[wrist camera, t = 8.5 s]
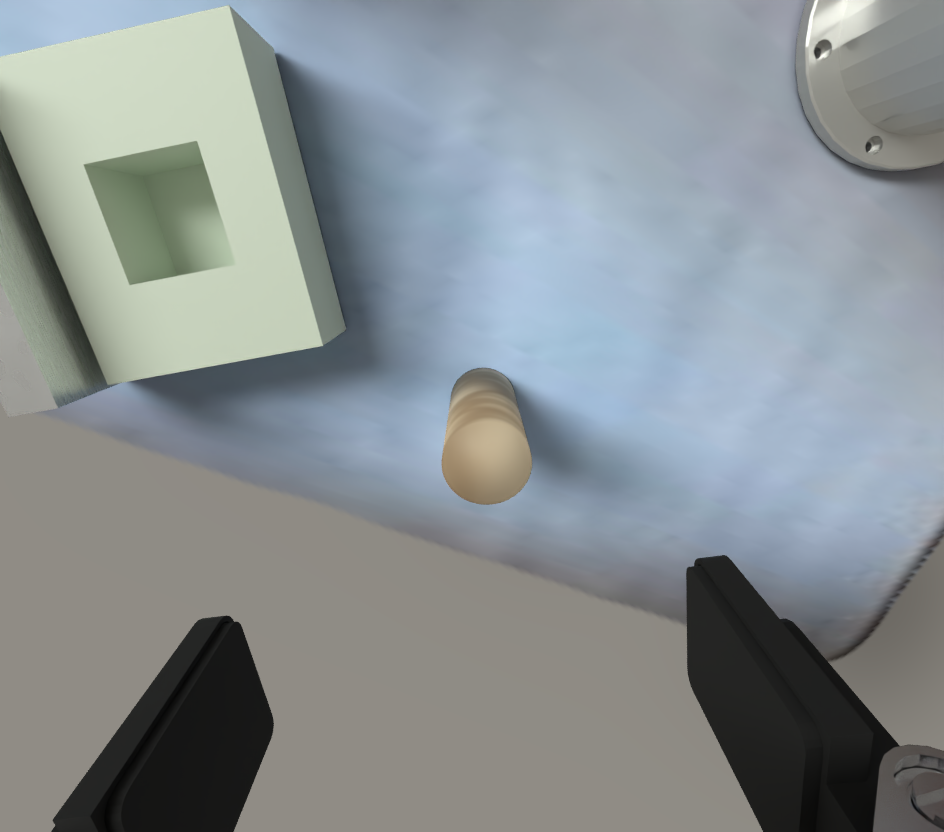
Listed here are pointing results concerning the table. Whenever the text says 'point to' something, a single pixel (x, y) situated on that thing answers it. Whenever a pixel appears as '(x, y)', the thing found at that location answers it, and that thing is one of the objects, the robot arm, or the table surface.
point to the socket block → (172, 193)
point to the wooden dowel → (485, 439)
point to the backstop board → (37, 313)
